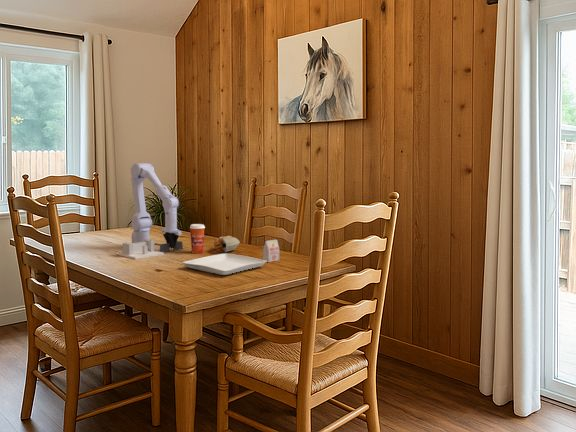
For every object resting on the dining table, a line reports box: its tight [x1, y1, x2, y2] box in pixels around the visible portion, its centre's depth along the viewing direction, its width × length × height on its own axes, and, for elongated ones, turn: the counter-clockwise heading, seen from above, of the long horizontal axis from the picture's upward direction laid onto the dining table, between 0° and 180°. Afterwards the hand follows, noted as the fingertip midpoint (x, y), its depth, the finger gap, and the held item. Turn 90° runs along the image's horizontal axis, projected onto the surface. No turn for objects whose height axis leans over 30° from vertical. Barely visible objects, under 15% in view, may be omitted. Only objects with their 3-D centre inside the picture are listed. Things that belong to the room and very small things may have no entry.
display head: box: [116, 239, 165, 260], centre depth 286 cm, size 16×16×6 cm
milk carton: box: [262, 239, 280, 263], centre depth 273 cm, size 4×7×10 cm, turn 131°
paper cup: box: [189, 223, 206, 255], centre depth 293 cm, size 8×8×14 cm
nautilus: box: [209, 235, 241, 255], centre depth 296 cm, size 8×22×15 cm
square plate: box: [181, 252, 267, 276], centre depth 258 cm, size 27×27×4 cm
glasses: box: [154, 240, 184, 253], centre depth 298 cm, size 12×13×4 cm
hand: (171, 247), depth 295 cm, fingers closed on glasses, 2 cm apart
